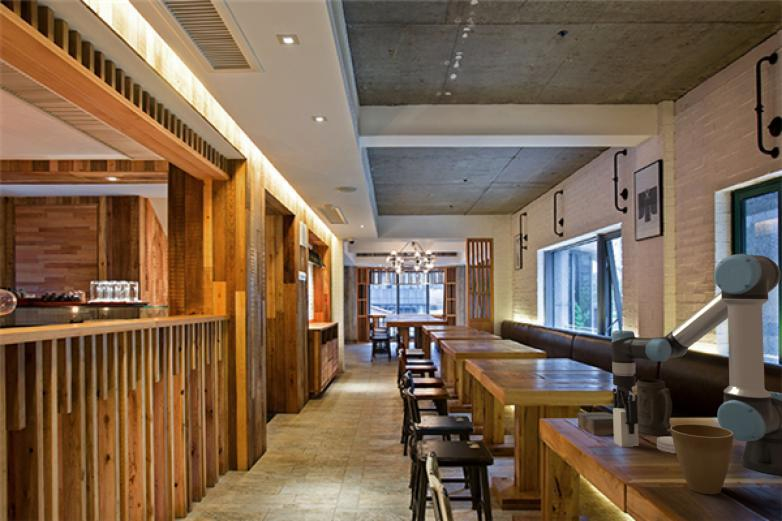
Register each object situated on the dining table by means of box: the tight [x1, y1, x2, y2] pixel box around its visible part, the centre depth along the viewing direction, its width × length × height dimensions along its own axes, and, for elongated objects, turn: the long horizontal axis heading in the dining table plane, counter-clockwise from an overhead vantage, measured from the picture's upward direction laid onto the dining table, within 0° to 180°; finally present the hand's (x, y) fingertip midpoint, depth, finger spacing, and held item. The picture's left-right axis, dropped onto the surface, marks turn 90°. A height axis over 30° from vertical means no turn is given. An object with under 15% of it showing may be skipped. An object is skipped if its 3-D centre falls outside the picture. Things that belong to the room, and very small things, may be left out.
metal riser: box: [577, 411, 614, 436], centre depth 208 cm, size 12×12×6 cm
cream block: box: [612, 407, 640, 448], centre depth 190 cm, size 6×6×12 cm
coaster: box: [656, 435, 676, 454], centre depth 183 cm, size 10×10×4 cm
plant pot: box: [669, 423, 734, 495], centre depth 146 cm, size 15×15×16 cm
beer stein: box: [636, 378, 673, 436], centre depth 205 cm, size 15×11×20 cm
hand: (626, 440), depth 189 cm, fingers closed on cream block, 6 cm apart
